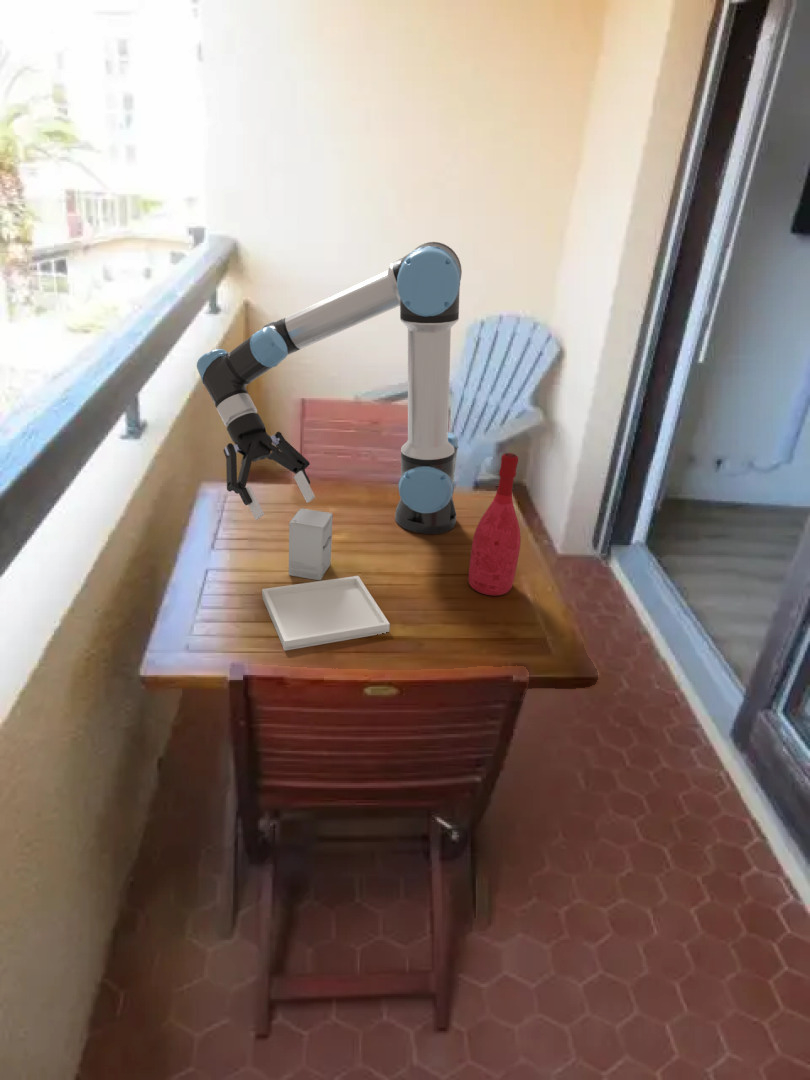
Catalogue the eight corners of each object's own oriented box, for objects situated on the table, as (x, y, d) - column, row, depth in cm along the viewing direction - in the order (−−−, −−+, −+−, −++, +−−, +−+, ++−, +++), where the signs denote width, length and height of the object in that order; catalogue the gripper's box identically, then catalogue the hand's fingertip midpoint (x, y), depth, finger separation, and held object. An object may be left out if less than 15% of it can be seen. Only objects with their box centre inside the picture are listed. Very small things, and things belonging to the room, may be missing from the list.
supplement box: (321, 581, 149) (323, 527, 143) (287, 575, 150) (287, 521, 144) (331, 564, 156) (333, 512, 150) (299, 559, 157) (299, 506, 151)
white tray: (357, 583, 149) (358, 575, 148) (389, 632, 135) (389, 623, 134) (262, 597, 142) (262, 589, 141) (284, 650, 127) (284, 641, 127)
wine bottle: (516, 580, 156) (539, 451, 142) (507, 602, 148) (530, 467, 134) (473, 570, 158) (491, 441, 144) (461, 591, 150) (479, 457, 136)
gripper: (280, 418, 164) (322, 500, 162) (183, 439, 147) (229, 531, 145) (295, 401, 158) (339, 486, 156) (197, 422, 141) (244, 517, 140)
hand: (286, 508), depth 151 cm, fingers open, 13 cm apart
